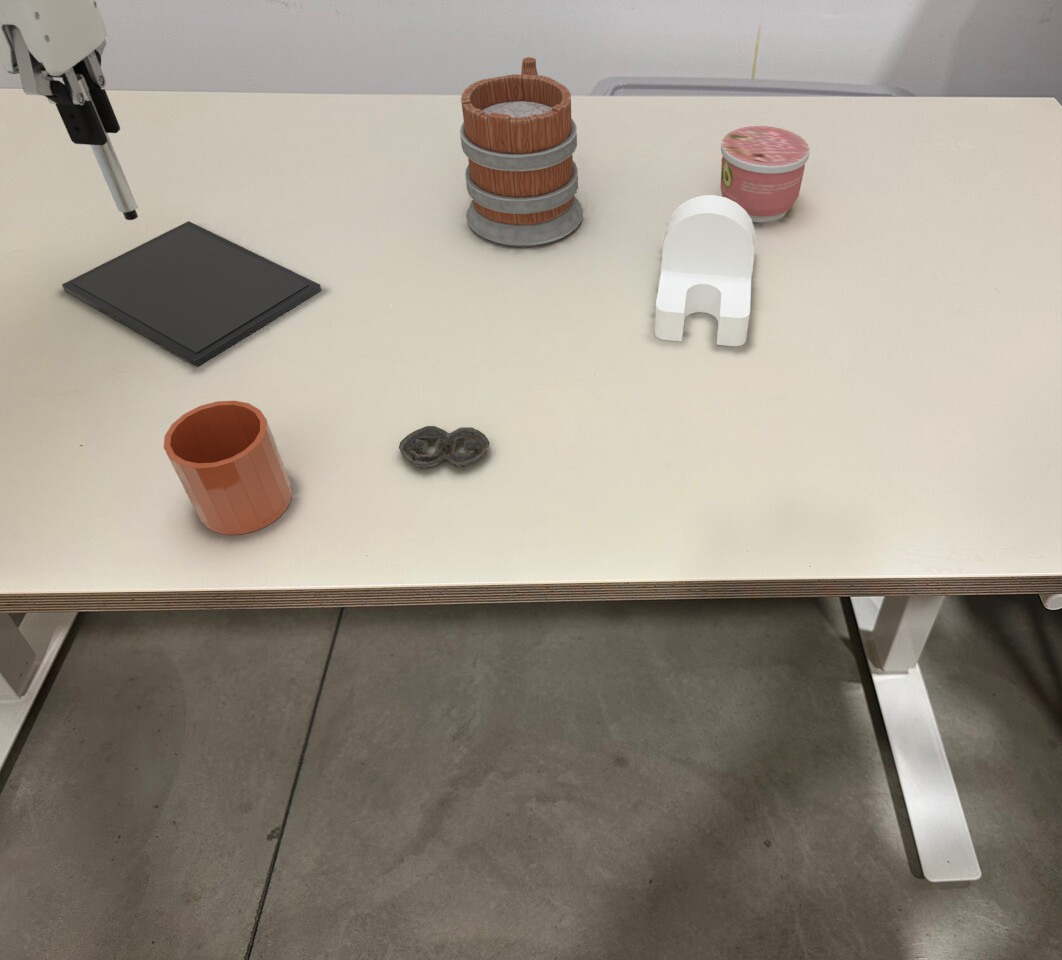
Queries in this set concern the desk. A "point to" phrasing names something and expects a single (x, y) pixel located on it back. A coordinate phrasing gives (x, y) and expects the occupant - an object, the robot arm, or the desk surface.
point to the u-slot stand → (706, 269)
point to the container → (763, 170)
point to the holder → (229, 466)
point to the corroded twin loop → (444, 446)
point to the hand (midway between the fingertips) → (96, 135)
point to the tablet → (192, 291)
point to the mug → (520, 158)
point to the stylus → (111, 165)
